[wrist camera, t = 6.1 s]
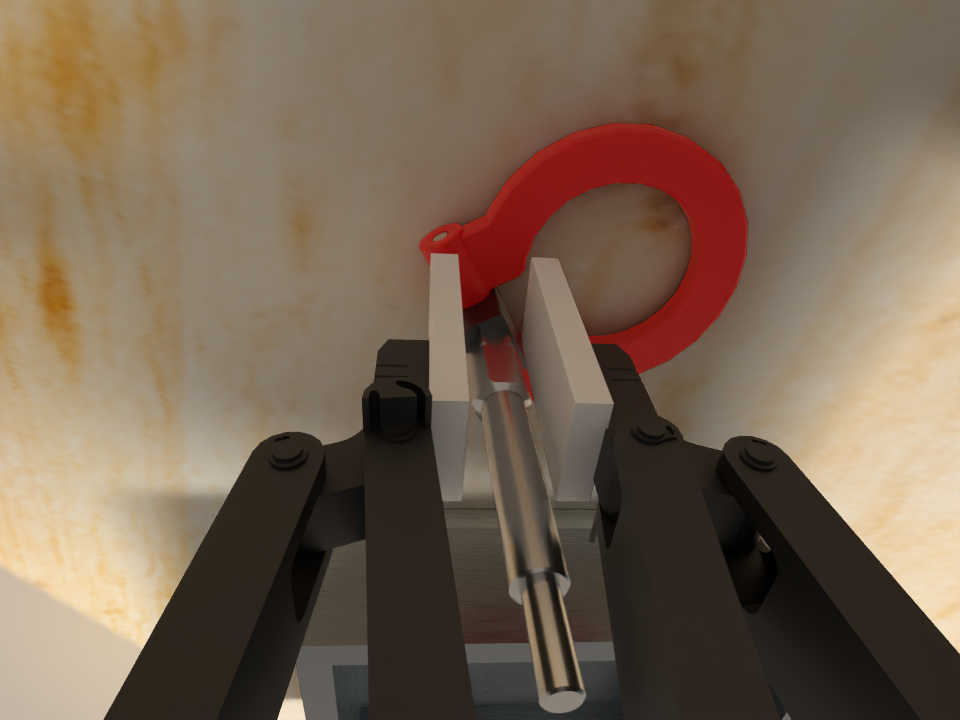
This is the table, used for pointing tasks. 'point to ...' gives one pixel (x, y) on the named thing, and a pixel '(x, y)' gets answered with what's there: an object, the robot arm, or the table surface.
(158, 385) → the table surface
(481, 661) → the grey open box
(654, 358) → the tow hook
